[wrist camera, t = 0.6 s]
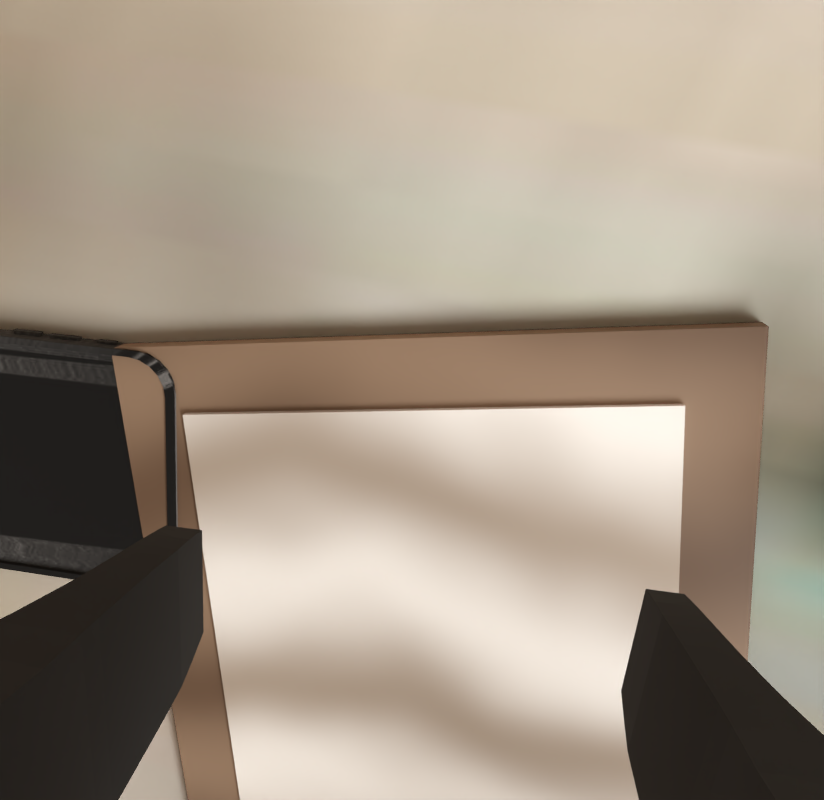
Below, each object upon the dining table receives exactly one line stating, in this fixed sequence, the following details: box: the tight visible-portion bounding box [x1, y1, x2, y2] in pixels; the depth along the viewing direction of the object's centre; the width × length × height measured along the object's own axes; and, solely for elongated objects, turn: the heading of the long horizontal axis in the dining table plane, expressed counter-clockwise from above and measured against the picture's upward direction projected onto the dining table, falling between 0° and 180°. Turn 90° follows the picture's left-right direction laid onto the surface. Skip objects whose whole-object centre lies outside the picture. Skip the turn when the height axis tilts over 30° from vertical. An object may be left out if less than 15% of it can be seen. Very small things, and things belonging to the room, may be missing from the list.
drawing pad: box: [112, 322, 769, 800], centre depth 25 cm, size 24×18×1 cm
